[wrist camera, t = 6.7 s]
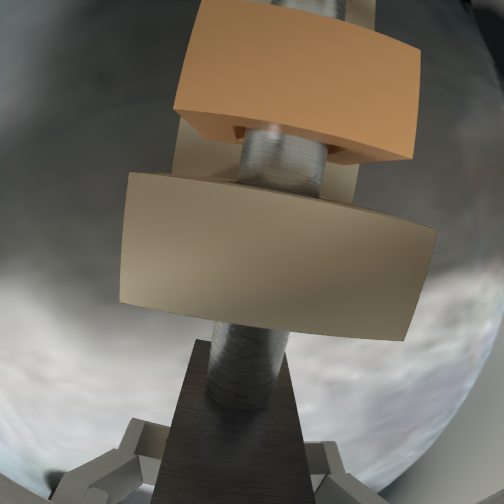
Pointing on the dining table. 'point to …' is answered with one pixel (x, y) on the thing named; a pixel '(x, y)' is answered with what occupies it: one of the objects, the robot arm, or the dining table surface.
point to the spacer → (299, 81)
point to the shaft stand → (269, 245)
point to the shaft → (247, 365)
